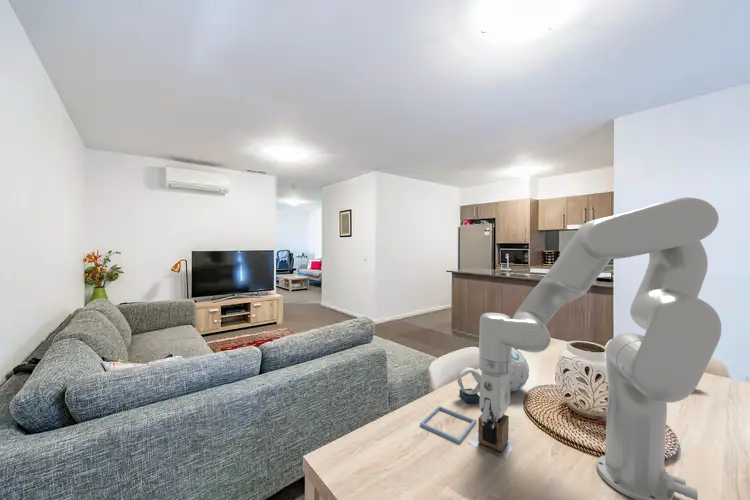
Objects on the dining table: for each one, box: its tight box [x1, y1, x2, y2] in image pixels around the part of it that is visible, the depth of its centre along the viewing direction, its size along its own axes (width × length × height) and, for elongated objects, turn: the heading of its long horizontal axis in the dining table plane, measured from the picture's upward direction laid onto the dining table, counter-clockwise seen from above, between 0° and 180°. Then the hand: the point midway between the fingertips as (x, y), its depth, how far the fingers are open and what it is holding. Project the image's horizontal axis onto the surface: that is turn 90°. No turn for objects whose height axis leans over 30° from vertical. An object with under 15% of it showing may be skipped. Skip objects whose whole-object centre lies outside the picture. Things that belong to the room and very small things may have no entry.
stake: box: [467, 416, 517, 461], centre depth 74 cm, size 9×9×8 cm
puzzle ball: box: [510, 347, 530, 393], centre depth 104 cm, size 15×15×15 cm
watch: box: [456, 366, 481, 405], centre depth 95 cm, size 6×8×11 cm
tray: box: [419, 405, 477, 445], centre depth 81 cm, size 11×11×2 cm
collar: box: [477, 410, 510, 452], centre depth 74 cm, size 6×6×6 cm
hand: (493, 434), depth 74 cm, fingers closed on collar, 5 cm apart
